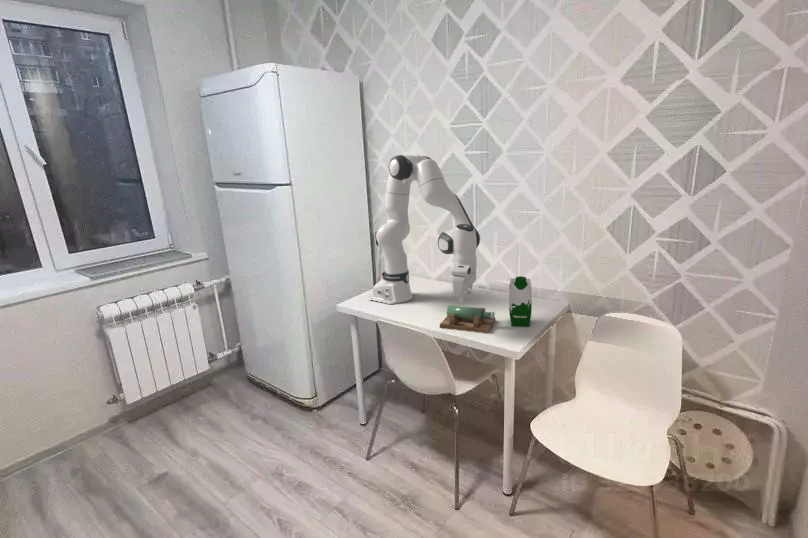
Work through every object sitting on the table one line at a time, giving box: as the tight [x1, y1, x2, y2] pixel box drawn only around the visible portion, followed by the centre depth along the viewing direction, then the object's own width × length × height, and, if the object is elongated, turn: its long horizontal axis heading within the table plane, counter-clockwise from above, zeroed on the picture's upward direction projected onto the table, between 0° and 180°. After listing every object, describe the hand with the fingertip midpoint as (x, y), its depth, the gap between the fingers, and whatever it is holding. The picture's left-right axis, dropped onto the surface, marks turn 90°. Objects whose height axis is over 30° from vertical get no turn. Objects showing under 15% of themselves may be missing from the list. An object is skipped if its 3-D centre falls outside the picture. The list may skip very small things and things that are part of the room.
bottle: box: [446, 304, 496, 320], centre depth 171 cm, size 19×5×5 cm
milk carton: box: [508, 275, 533, 328], centre depth 168 cm, size 9×9×20 cm
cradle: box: [439, 307, 496, 334], centre depth 172 cm, size 13×20×6 cm, turn 66°
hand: (465, 298), depth 170 cm, fingers open, 8 cm apart
